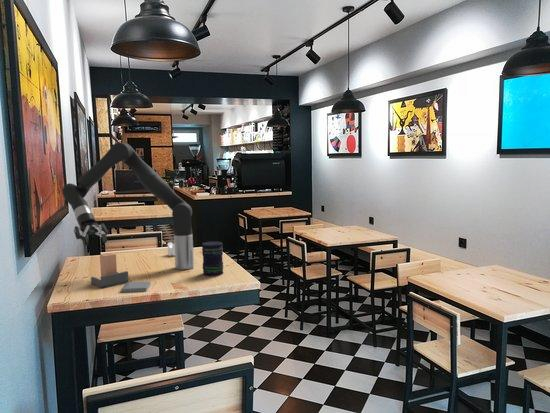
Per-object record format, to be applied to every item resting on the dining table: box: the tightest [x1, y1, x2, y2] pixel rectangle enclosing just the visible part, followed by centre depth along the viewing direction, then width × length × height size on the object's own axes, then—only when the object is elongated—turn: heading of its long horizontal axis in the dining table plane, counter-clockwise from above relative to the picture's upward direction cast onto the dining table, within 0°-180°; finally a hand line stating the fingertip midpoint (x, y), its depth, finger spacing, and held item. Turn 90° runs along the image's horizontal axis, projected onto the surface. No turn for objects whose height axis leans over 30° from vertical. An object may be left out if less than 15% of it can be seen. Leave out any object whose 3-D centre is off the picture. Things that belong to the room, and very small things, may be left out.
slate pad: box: [120, 280, 151, 293], centre depth 174 cm, size 10×10×2 cm
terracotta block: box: [99, 252, 118, 277], centre depth 183 cm, size 5×5×12 cm
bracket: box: [167, 242, 175, 257], centre depth 243 cm, size 13×7×8 cm, turn 131°
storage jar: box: [201, 240, 224, 277], centre depth 196 cm, size 10×10×15 cm
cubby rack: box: [90, 271, 129, 289], centre depth 183 cm, size 11×12×5 cm
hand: (96, 243), depth 190 cm, fingers open, 8 cm apart
